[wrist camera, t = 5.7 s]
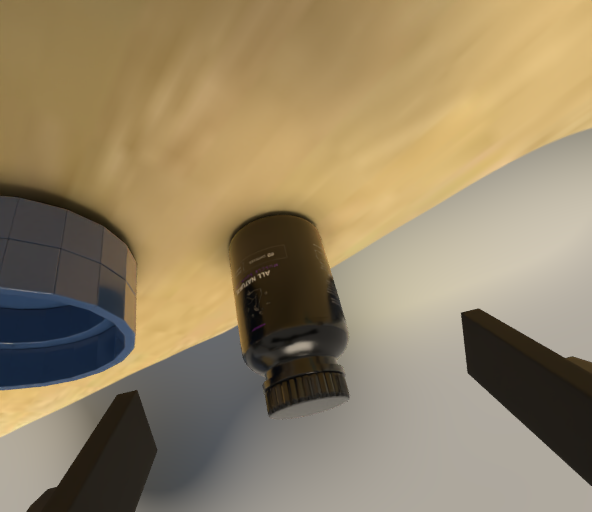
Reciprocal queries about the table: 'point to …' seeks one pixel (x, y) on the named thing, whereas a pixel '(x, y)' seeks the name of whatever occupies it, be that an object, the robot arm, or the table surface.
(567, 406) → the robot arm
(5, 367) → the bowl
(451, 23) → the table surface
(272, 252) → the supplement bottle
